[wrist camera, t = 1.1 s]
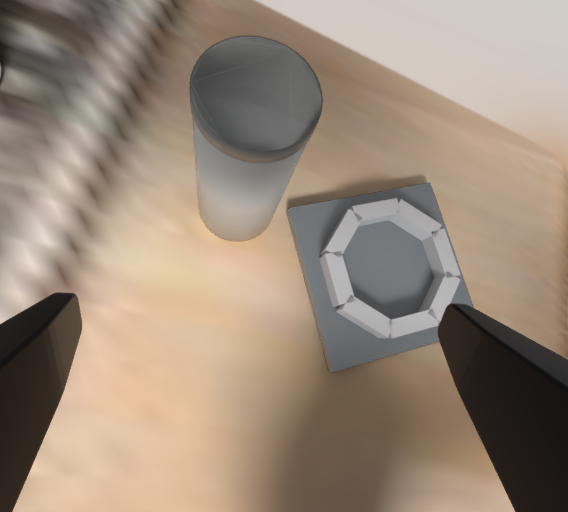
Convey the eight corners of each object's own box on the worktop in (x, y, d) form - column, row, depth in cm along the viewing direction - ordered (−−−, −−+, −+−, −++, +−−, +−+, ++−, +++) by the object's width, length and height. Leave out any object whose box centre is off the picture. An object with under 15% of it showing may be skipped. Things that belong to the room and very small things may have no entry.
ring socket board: (473, 330, 25) (494, 327, 23) (328, 371, 23) (339, 373, 21) (423, 187, 27) (440, 174, 25) (286, 212, 25) (293, 200, 23)
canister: (282, 234, 24) (337, 142, 14) (206, 249, 23) (205, 161, 13) (264, 166, 25) (303, 31, 15) (190, 177, 24) (177, 40, 14)
